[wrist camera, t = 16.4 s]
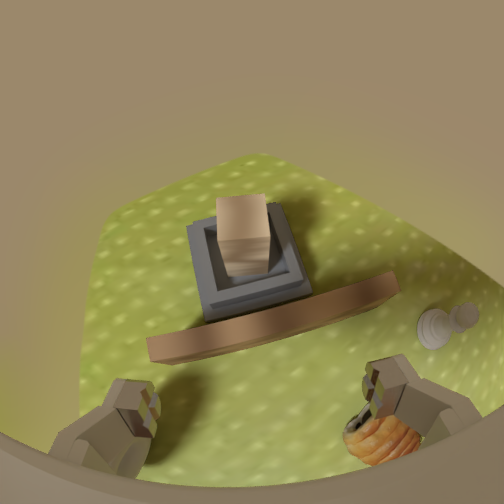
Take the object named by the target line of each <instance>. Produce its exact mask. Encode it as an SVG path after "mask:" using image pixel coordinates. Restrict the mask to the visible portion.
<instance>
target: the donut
mask: <svg viewBox="0 0 504 504" xmlns="http://www.w3.org/2000/svg"><path fill="white" fill-rule="evenodd" d="M150 445H151V438H144V437H135V438H134V439H133V440H132V441H131V442H130V443H129V444H128V445H127V446H126V447H125V448H124V449H123V450H122V451H121V452H120V453H119V454H118V455H117V456H116V457H115V458H114V459H113V460H112V461H111V462H110V463H109V464H108V465H109V466H110V467H111V468H112V469H113V470H114V471H115V472H116V474H117V475H118V476H122V477H127V478H132V479H135V478H136V477H137V475H138V474H139V472H140V470H141V469H142V467H143V465H144V463H145V460H146V458H147V455H148V452H149V449H150Z"/></svg>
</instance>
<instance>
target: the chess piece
mask: <svg viewBox="0 0 504 504" xmlns="http://www.w3.org/2000/svg"><path fill="white" fill-rule="evenodd" d="M478 318H479V311H478V308H477V307H476V305H475V304H473V303H470V302H466V303H464V304H462V305H461V306H454V307H453V308H452V310H451V311H450V314H448V315H447V314H446V312H444V311H443V310H441V309H432V310H428V311H426V312H424V313H423V314H422V315H421V317H420V319H419V321H418V325H417V333H418V337H419V340H420V342H421V343H422V345H423V346H424V347H426V348H427V349H430V350H436V349H438V348H440V347H442V346H444V345H445V344H446V343H447V342H448V341H449V339H450V336H451V332H452V331H455V332H457V333H462V332H464V331H465V330H466V329H469V328H472V327H473V326H474V325H475V324H476V323H477V321H478Z"/></svg>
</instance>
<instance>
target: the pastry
mask: <svg viewBox="0 0 504 504" xmlns="http://www.w3.org/2000/svg"><path fill="white" fill-rule="evenodd" d="M369 406H370V402H369V403H368V404H367V405H366V406H365V407H364V408H363V410H362V411H361V412H360V414H359V415H358V417H357V418H355V419H353V420H352V421H351V422H350V423H349V424H348V425H347V426H346V427H345V429H344V432H343V440H344V442H345V444H346V446H347V448H348V451H349V452H350V453H351V454H352V455H354V456H356V457H357V458H358V459H360V460H362V461H363V462H364V463H365V464H369V465H371V466H375V465H378V464H381V463H384V462H388V461H390V460H393V459H396V458H399V457H402V456H405V455H407V454H410V453H412V452H415V451H417V450H418V448H419V446H420V445H421V444H420V441H419V439H420V435H419V433H418V432H416V431H415V430H413V429H412V428H410V427H409V426H408V425H406V424H405V423H403V422H402V421H401V420H399V419H398V418H396V417H395V416H394V415H391V416H387V417H383V418H380V419H376V420H374V418H373V416H372V413H371V411H370V409H369Z"/></svg>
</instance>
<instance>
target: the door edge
mask: <svg viewBox="0 0 504 504" xmlns="http://www.w3.org/2000/svg"><path fill="white" fill-rule="evenodd" d="M400 291H401V289H400V286H399V284H398V281H397V279H396V276H395V274H394V272H393V270H392V271H390V272H387V273H384V274H381V275H378V276H375V277H372V278H369V279H366V280H363V281H360V282H357V283H354V284H351V285H348V286H345V287H342V288H339V289H336V290H332V291H329V292H326V293H323V294H319V295H316V296H313V297H310V298H306V299H303V300H299V301H296V302H292V303H289V304H285V305H282V306H278V307H275V308H271V309H267V310H264V311H260V312H256V313H253V314H249V315H245V316H241V317H237V318H233V319H229V320H225V321H221V322H217V323H213V324H209V325H204V326H200V327H196V328H191V329H187V330H182V331H178V332H173V333H168V334H164V335H159V336H154V337H149V338H146V341H147V346H148V352H149V357H150V362H155V363H161V364H167V365H176V364H181V363H186V362H191V361H196V360H201V359H205V358H210V357H214V356H219V355H223V354H227V353H232V352H236V351H240V350H244V349H248V348H252V347H255V346H259V345H263V344H267V343H270V342H274V341H277V340H281V339H284V338H288V337H291V336H294V335H298V334H301V333H304V332H307V331H311V330H314V329H317V328H320V327H323V326H326V325H329V324H332V323H335V322H338V321H341V320H344V319H347V318H349V317H352V316H355V315H358V314H360V313H363V312H366V311H368V310H371V309H374V308H376V307H378V306H379V305H381V304H382V303H384V302H385V301H387V300H388V299H390V298H391V297H393V296H394V295H396V294H397V293H398V292H400Z"/></svg>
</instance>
